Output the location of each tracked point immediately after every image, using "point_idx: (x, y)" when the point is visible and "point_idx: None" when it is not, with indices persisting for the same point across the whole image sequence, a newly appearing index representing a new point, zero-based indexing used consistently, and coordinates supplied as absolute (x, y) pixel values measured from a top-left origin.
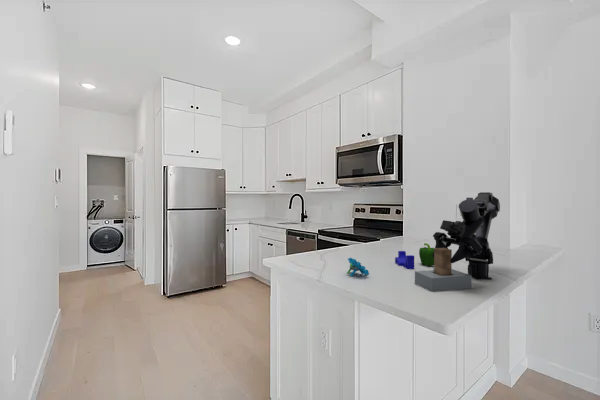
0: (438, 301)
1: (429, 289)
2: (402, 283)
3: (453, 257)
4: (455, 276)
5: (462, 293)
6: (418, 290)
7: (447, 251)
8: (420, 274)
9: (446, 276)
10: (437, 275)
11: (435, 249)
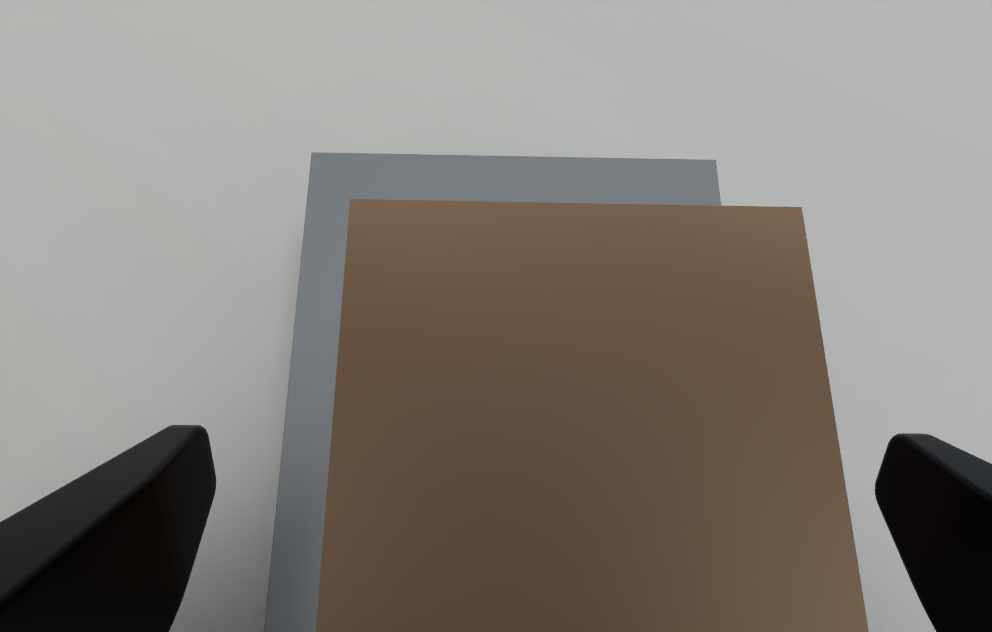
0: (79, 108)
1: None
2: (691, 119)
3: (86, 486)
4: (281, 590)
5: None
6: (424, 132)
7: (342, 471)
8: (577, 165)
9: (328, 427)
10: None
11: (714, 223)
